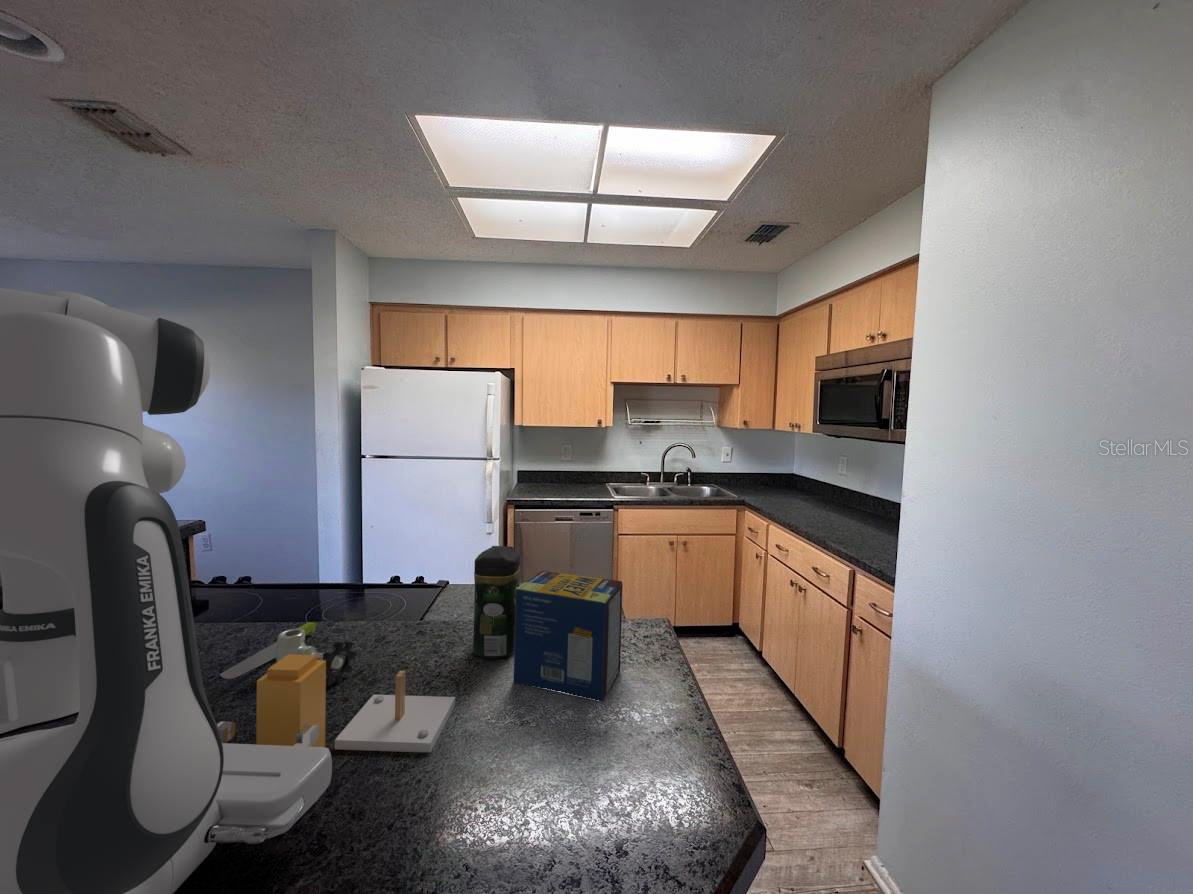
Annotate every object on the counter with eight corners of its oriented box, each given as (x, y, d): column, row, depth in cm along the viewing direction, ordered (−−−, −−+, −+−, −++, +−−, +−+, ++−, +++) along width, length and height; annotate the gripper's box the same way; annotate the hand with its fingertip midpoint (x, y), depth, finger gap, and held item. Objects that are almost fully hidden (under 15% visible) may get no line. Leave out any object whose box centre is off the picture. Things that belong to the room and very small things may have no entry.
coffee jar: (481, 635, 91) (483, 542, 90) (521, 637, 91) (524, 543, 90) (466, 660, 81) (469, 555, 80) (511, 662, 81) (514, 556, 80)
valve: (261, 680, 73) (322, 695, 70) (261, 639, 73) (323, 652, 69) (299, 661, 79) (356, 673, 76) (299, 623, 79) (357, 633, 76)
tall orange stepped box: (256, 774, 53) (256, 672, 53) (285, 744, 58) (286, 651, 58) (299, 775, 53) (300, 673, 53) (325, 746, 58) (326, 652, 58)
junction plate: (334, 749, 58) (335, 692, 58) (373, 702, 68) (374, 654, 68) (430, 752, 58) (431, 696, 58) (455, 705, 68) (456, 656, 68)
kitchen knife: (223, 694, 67) (224, 673, 67) (214, 694, 67) (215, 673, 67) (315, 636, 89) (316, 620, 89) (309, 636, 89) (310, 620, 89)
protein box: (539, 654, 84) (541, 569, 84) (621, 670, 79) (624, 580, 79) (511, 683, 74) (513, 588, 74) (603, 703, 70) (606, 601, 69)
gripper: (278, 805, 38) (363, 705, 52) (32, 795, 38) (182, 698, 52) (277, 878, 39) (362, 760, 52) (32, 868, 39) (182, 752, 52)
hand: (270, 729), depth 52 cm, fingers open, 8 cm apart
